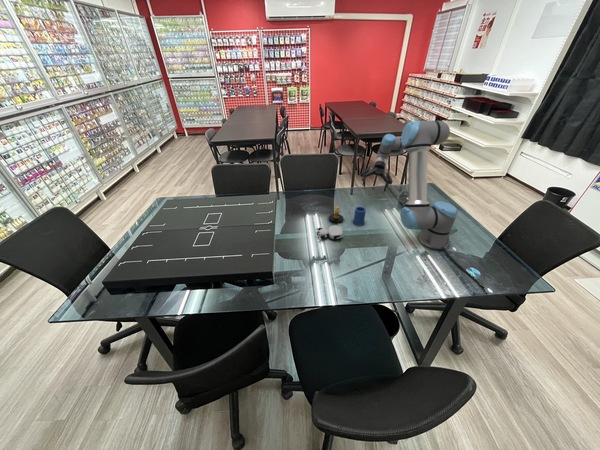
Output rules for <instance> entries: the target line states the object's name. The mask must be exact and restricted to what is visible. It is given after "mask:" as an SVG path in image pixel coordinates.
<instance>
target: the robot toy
mask: <svg viewBox="0 0 600 450" xmlns="http://www.w3.org/2000/svg"><path fill="white" fill-rule="evenodd" d="M315 231H317V232H316V236H317V237H318V238H317V240H318V241H323V240H325V239H326V238H330V239H332V240H339V239H342V238H344V235H343V234H344V230H343V228H342V227H341V226H340V223H339V224H334V225H330V226H329V227H328V228H323V227H316V228H315Z"/></svg>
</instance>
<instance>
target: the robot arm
mask: <svg viewBox="0 0 600 450" xmlns="http://www.w3.org/2000/svg"><path fill="white" fill-rule="evenodd" d="M450 134H451V129H450V127H449V125H448V123H446V122H444V121H443V120H413V121H409V122H407V123H406V125H405V126H404V127H403V130H402V132H401V136H400V137H396V136H395V135H394V134H391V133H387V134H385V135H384V136H383V137H382V140H381V143H380V145H379V148H378V151H377V153H376V158H375V161H374V164H373V167H372V166H371V165H368V167H367V168H366V169H364V170H363V171H362V172H360V175H359V176H360V177H362V179H361V181H362V185H361V186H364V185H365V182H366V178H368V177H370V176H378V177H380V178H381V179H382V180H383V181H384V187H383V192H386V190H387V188H389V186H392V184H393V182H394V181H393V179H392V177H391V174H390V170H387V171H386V166H387V163H388V159H389V156H390V154H391V152H392V151H399V150H401V151H403V150H404V151H405V152H407V153H408V182H407V183H408V184H407V185H408V187H407V188H408V189H407V190H408V193H407V197H408V198H407V201H406V202H405V203H404V206H403V207H402V208H401V209H400V213H399V214H400V215H399V216H400V217H399V218H400V221H401V224H402V225H403V227H404V228H405V229H406V230H415V231H417V230H421V232H420V233H419V236H418V241H419V243H420V244H421V245H422V246H424V247H426V248H428V249H430V250H435V251H444V253H445V254H446V256H447V257H448V258H449V259H450V260H451V261H452V262H453V263H454V264H455V265H456V266H457V267H458V268H459V269H461V270H462V272H464V273H465V274H466V275H468V276H469V277H470V278H472V279H473V281H475V282H476V283H477V284H478V285H479V286H480V287H481V285H480V284H479V282H480V281H479V280H478V279H477V278H476V279H477V280H478V281H479V282H478V281H477V280H476V279H474V278H473V277H474V276H473V275H472V274H471V273H470V272H468V271H467V270H466V269H465V268H464V267H463V266H462V265H461V264H460V263H458V262H457V261H456V260H455V258H453V256H451V254H450V253H449V252H448V250H447V249H448V248H449V246H450V232H451V231H452V228H453V225H454V223H455V220H456V219H457V216H458V209H457V208H456V207H455V206H454V205H453V204H451V203H448V202H445V201H438V200H437V201H434V203H433V204H432V205H431V202H429V200H427V198H428V197H427V195H428V193H427V192H428V153H429V151H430V150H431V149H432V146H437V145H438V146H439V145H441V144H444V143H445V142H446V141H447V140H448V139H449V137H450ZM471 275H472V276H473V277H472V276H471Z"/></svg>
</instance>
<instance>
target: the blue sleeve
mask: <svg viewBox="0 0 600 450" xmlns="http://www.w3.org/2000/svg"><path fill="white" fill-rule="evenodd" d="M366 213H367V209H366V207H364V206H356V207H354V214H353V224H354V225H355V226H360V227H361V226H363V225H364V224H365V218H366Z"/></svg>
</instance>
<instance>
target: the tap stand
mask: <svg viewBox="0 0 600 450" xmlns="http://www.w3.org/2000/svg"><path fill="white" fill-rule="evenodd" d="M328 221H329V222H330V223H331V224H334V225H338V224H339V225H340V224H342V223H343V222H344V216H343V215H342V214H340V207H339V206H338V205H337V206H335V207H334V213H332V214H330V215H329V216H328Z"/></svg>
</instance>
